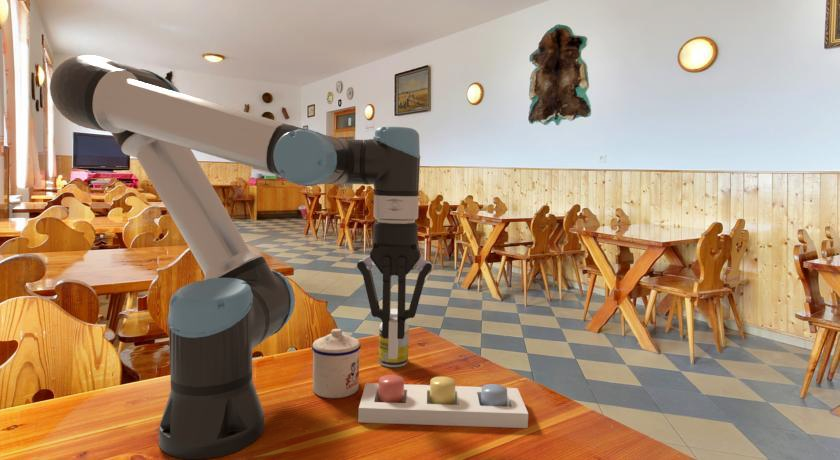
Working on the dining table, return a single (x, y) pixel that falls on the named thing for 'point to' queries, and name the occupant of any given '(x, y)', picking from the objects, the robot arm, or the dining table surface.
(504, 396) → the blue button
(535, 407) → the dining table surface
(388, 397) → the red button
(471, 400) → the panel
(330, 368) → the teacup with lid
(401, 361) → the pill bottle
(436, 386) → the mustard button
